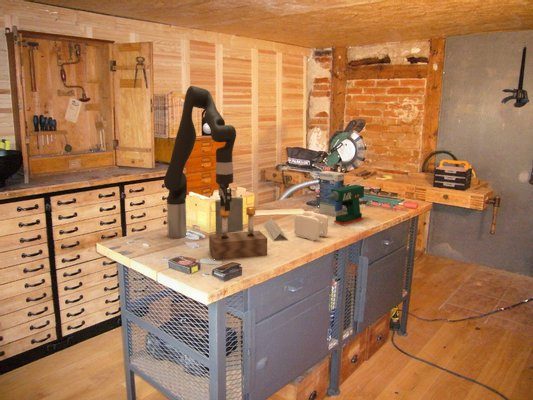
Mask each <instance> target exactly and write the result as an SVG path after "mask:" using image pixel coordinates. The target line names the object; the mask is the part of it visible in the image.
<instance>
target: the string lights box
mask: <svg viewBox="0 0 533 400" xmlns="http://www.w3.org/2000/svg"><path fill="white" fill-rule="evenodd" d="M344 184H345V172H337V171H330V170H325V171H320V172H319V187H318V188H319V190H318V191H319V193H318V194H319V195H318V214H322V215H326V216H332V217H335V218H336V216H339V215H342V214H343V207H344V206H343V205H342V202H340V203H339V202H335V201H331V200H330V199H325V197H327V196H329V194H330V193H331V189H335V188H340V187H345V186H344Z"/></svg>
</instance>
